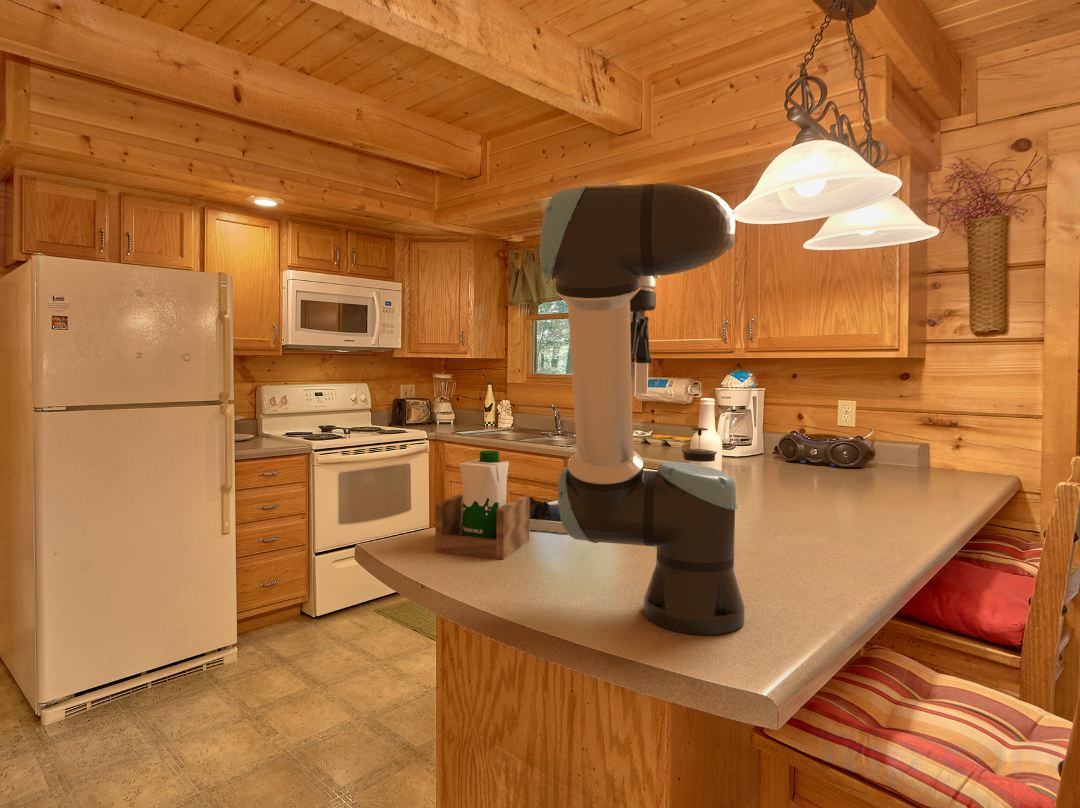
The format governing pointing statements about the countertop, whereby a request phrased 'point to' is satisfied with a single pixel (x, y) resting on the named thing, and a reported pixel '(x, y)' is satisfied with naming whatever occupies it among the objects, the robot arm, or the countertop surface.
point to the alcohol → (708, 435)
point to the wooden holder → (449, 538)
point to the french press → (699, 452)
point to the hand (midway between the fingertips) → (634, 394)
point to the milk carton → (483, 494)
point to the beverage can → (544, 511)
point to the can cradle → (546, 525)
